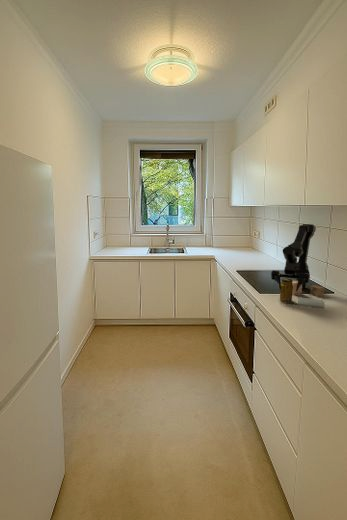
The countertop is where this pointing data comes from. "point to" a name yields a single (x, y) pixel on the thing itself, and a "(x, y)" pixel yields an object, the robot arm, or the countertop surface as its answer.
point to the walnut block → (317, 290)
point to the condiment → (286, 292)
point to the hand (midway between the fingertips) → (288, 290)
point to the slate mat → (310, 302)
